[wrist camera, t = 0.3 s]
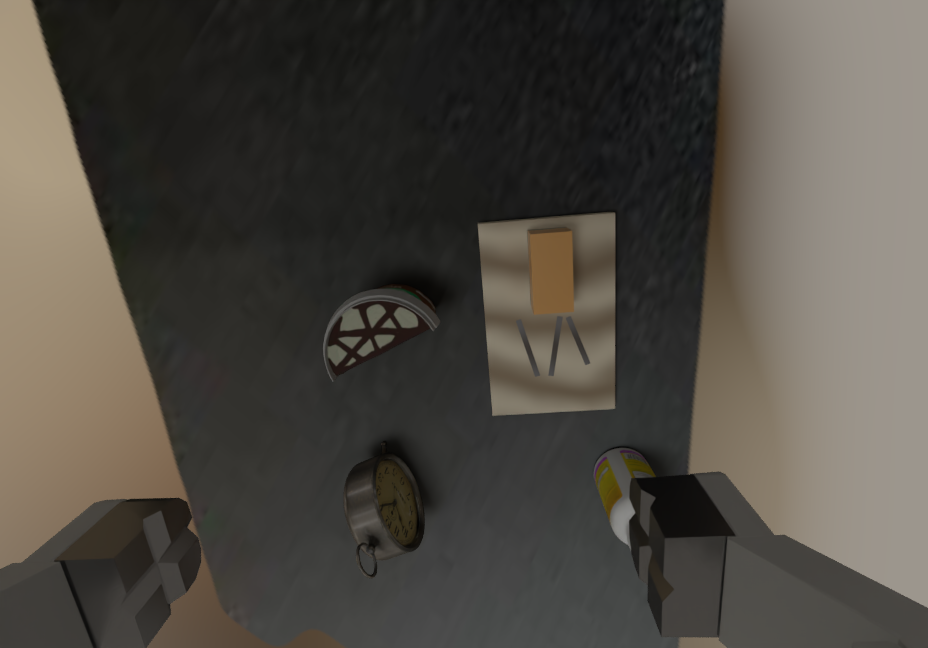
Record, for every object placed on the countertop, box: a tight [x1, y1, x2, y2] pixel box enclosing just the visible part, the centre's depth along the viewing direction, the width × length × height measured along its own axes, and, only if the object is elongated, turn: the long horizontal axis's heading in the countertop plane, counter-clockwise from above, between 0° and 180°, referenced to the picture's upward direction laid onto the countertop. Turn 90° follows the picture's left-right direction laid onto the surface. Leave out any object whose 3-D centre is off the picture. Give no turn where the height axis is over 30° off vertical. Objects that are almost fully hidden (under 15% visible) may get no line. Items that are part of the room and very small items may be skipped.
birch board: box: [478, 212, 615, 416], centre depth 54 cm, size 22×14×2 cm, turn 5°
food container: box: [323, 284, 441, 381], centre depth 51 cm, size 12×6×10 cm, turn 118°
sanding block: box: [527, 227, 574, 315], centre depth 50 cm, size 8×4×4 cm, turn 5°
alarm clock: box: [344, 441, 425, 578], centre depth 54 cm, size 11×5×16 cm, turn 26°
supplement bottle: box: [594, 448, 656, 550], centre depth 54 cm, size 7×7×13 cm
